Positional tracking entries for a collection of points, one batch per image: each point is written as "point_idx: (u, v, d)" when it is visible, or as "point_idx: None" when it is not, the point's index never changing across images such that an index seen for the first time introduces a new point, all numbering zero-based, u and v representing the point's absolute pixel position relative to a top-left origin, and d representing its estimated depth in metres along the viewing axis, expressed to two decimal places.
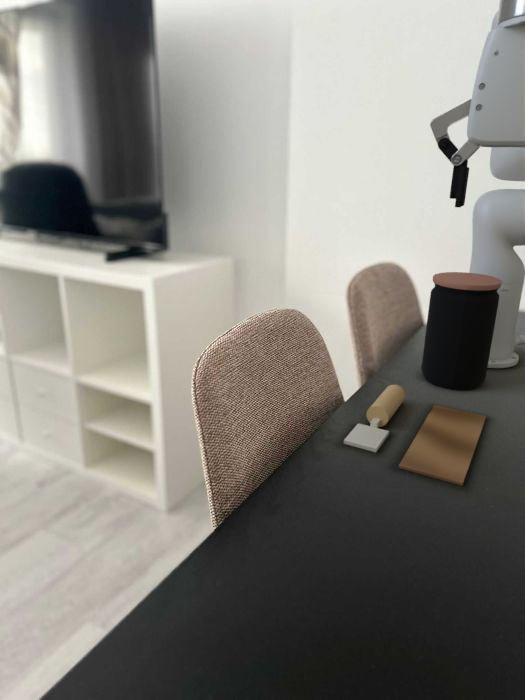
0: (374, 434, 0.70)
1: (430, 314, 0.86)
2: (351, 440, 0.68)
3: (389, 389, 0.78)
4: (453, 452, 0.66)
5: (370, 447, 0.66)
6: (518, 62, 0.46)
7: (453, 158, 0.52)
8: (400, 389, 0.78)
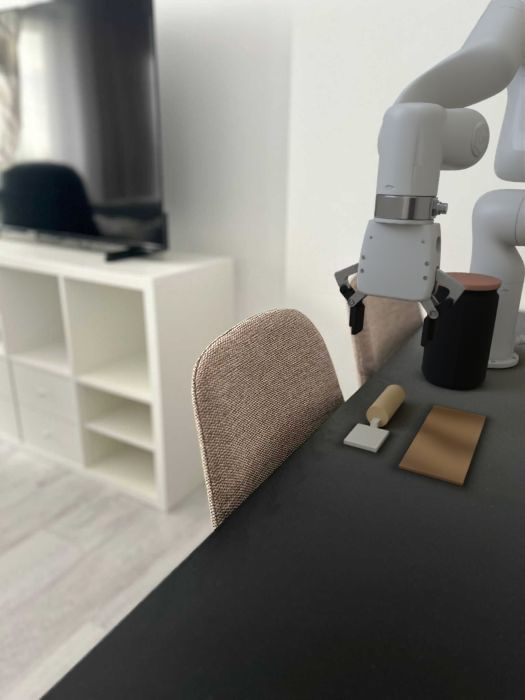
0: (374, 434, 0.70)
1: None
2: (351, 440, 0.68)
3: (389, 389, 0.78)
4: (453, 452, 0.66)
5: (370, 447, 0.66)
6: (384, 245, 0.65)
7: (349, 301, 0.71)
8: (400, 389, 0.78)
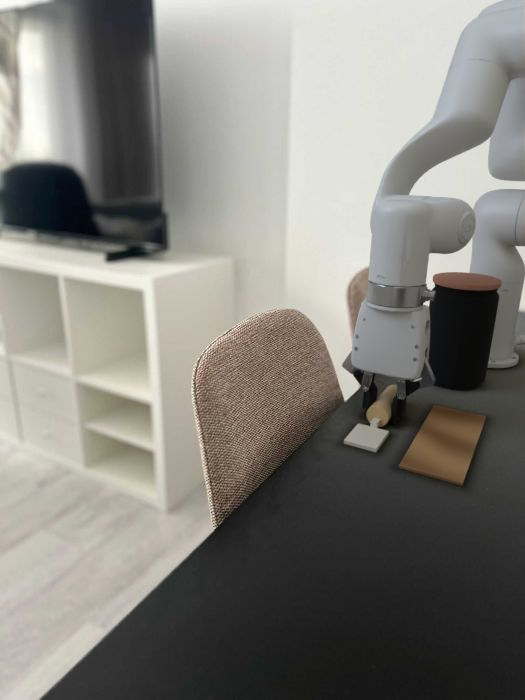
0: (374, 434, 0.70)
1: (430, 314, 0.86)
2: (351, 440, 0.68)
3: (389, 389, 0.78)
4: (453, 452, 0.66)
5: (370, 448, 0.66)
6: (377, 328, 0.69)
7: (362, 386, 0.74)
8: None
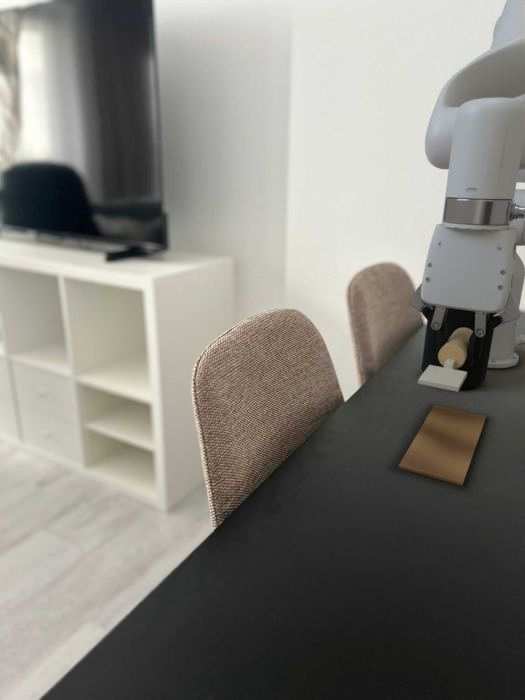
0: (451, 374, 0.61)
1: None
2: (427, 379, 0.59)
3: (459, 331, 0.69)
4: (453, 452, 0.66)
5: (451, 386, 0.58)
6: (455, 253, 0.61)
7: (433, 324, 0.65)
8: (471, 332, 0.70)
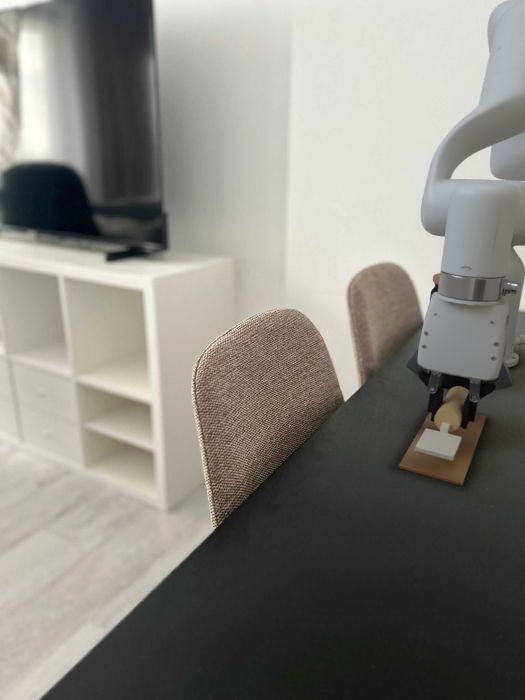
0: (447, 440, 0.63)
1: None
2: (423, 447, 0.62)
3: (455, 391, 0.71)
4: None
5: (446, 455, 0.60)
6: (450, 324, 0.63)
7: (429, 387, 0.68)
8: (466, 391, 0.72)
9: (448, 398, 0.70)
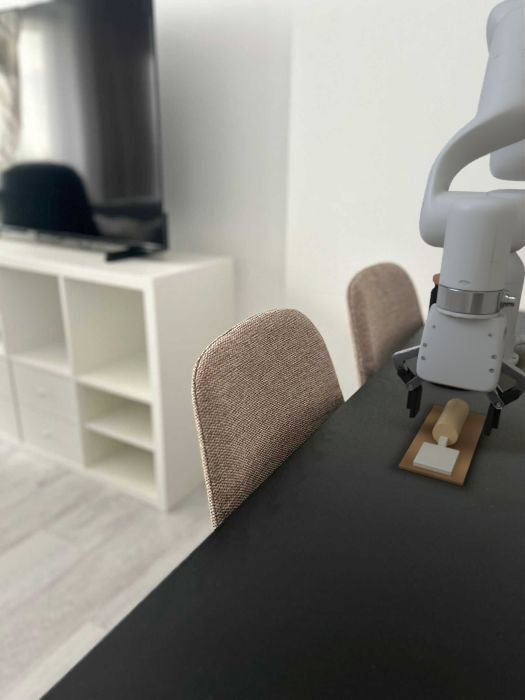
0: (445, 454, 0.64)
1: None
2: (421, 462, 0.62)
3: (453, 404, 0.72)
4: None
5: (444, 470, 0.61)
6: (448, 336, 0.64)
7: (407, 384, 0.70)
8: (464, 404, 0.73)
9: (446, 411, 0.70)
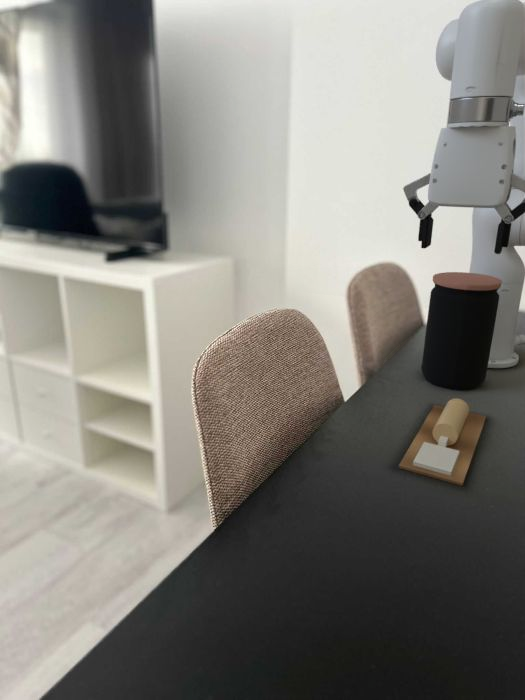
0: (445, 454, 0.64)
1: (430, 314, 0.86)
2: (421, 462, 0.62)
3: (453, 404, 0.72)
4: None
5: (444, 470, 0.61)
6: (459, 152, 0.66)
7: (419, 214, 0.72)
8: (464, 404, 0.73)
9: (446, 411, 0.70)
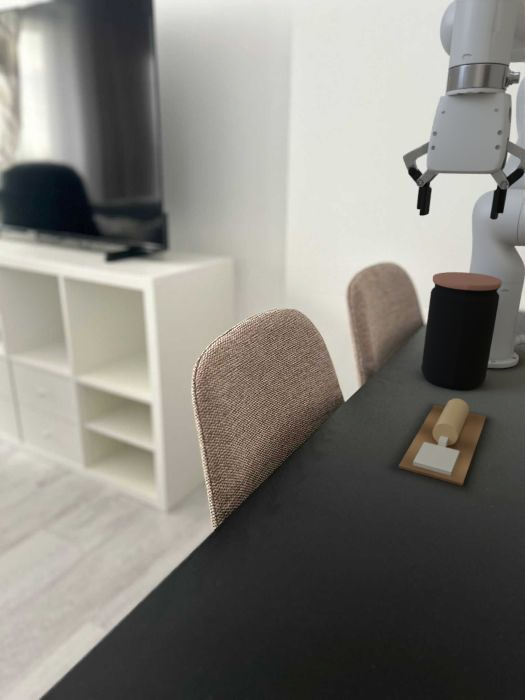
0: (445, 454, 0.64)
1: (430, 314, 0.86)
2: (421, 462, 0.62)
3: (453, 404, 0.72)
4: None
5: (444, 470, 0.61)
6: (457, 118, 0.68)
7: (418, 181, 0.74)
8: (464, 404, 0.73)
9: (446, 411, 0.70)
